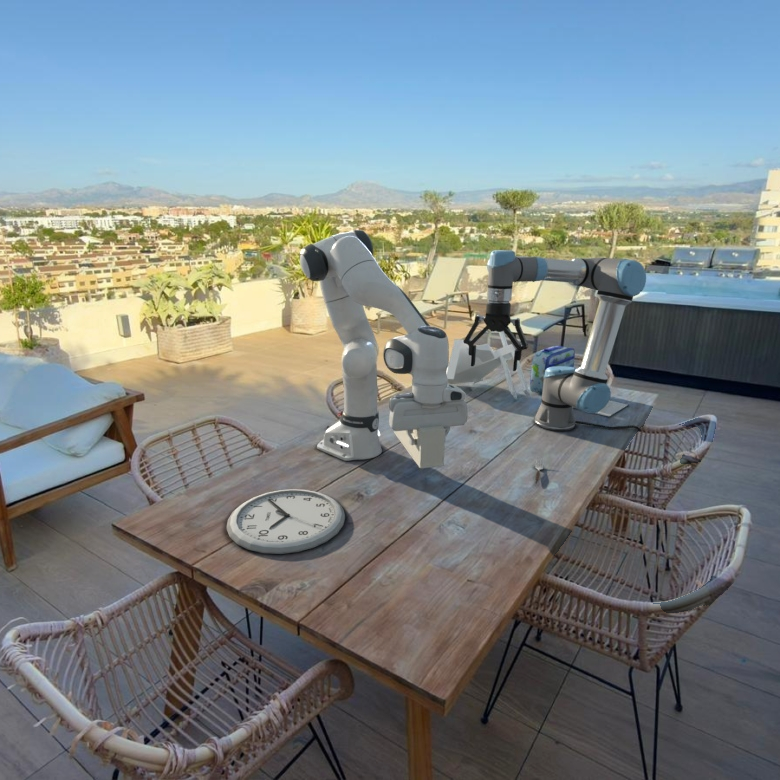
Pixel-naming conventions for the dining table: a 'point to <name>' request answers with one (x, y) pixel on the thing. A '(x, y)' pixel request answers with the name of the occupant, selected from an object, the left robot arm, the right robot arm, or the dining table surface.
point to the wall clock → (285, 521)
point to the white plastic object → (482, 363)
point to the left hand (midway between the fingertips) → (427, 443)
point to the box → (425, 445)
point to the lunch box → (549, 364)
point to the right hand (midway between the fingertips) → (493, 367)
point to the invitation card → (611, 408)
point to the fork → (538, 469)
